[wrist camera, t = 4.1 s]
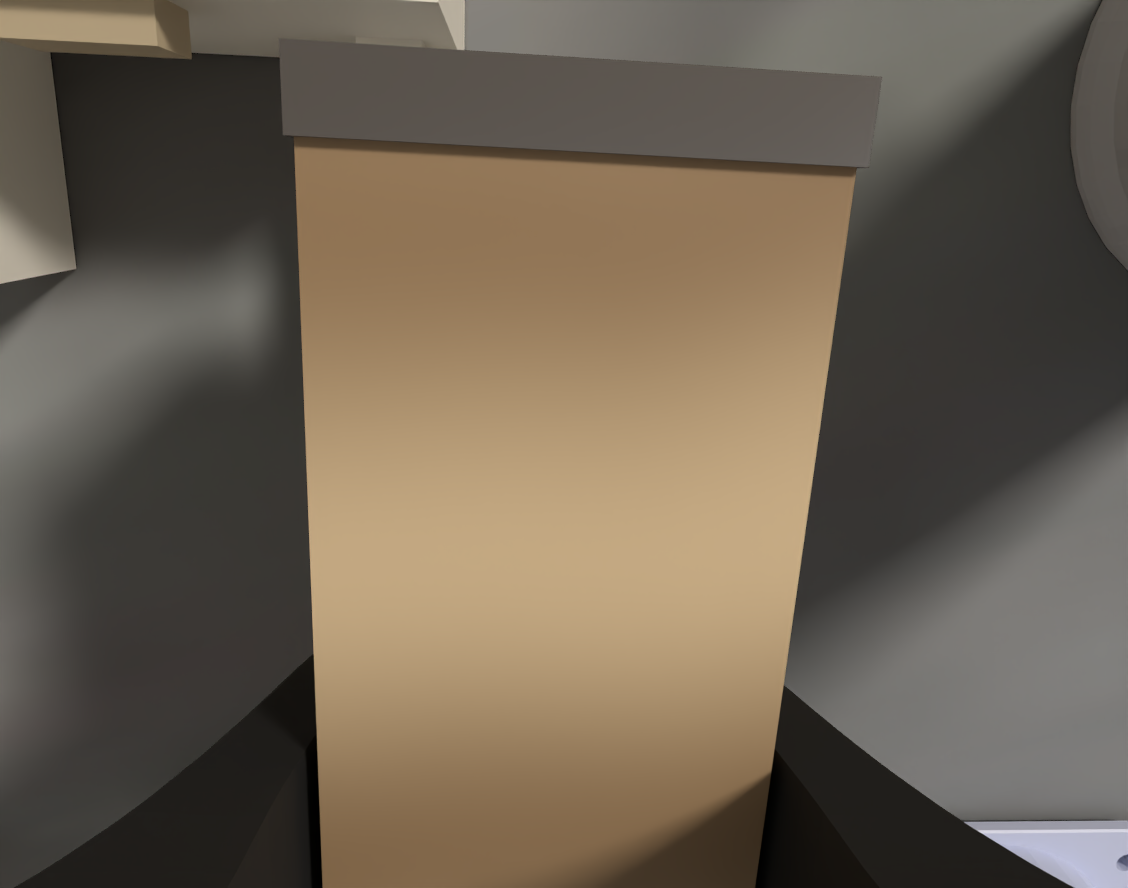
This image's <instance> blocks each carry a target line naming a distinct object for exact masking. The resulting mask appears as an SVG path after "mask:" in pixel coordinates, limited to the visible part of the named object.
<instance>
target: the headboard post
mask: <svg viewBox="0 0 1128 888" xmlns="http://www.w3.org/2000/svg"><path fill="white" fill-rule="evenodd" d="M279 38H281V39H297V40H312V41H328V42H344V43H359V44H375V45H391V46H406V47H422V48H438V49H453V50H464V40H465V0H0V284H2V283H7V282H12V281H17V280H22V279H27V278H32V277H37V276H42V275H48V274H53V273H58V272H63V271H68V270H73V269H76V261H75V253H74V245H73V236H72V228H71V220H70V212H69V203H68V195H67V187H66V179H65V170H64V162H63V154H62V146H61V137H60V129H59V121H58V113H57V104H56V96H55V88H54V80H53V71H52V63H51V55H50V52H61V53H81V54H100V55H119V56H138V57H157V58H177V59H192V53H206V54H225V55H244V56H263V57H280V56H279Z"/></svg>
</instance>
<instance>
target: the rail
mask: <svg viewBox="0 0 1128 888" xmlns="http://www.w3.org/2000/svg"><path fill="white" fill-rule="evenodd" d="M279 56H280V80H281V103H282V127H283V135H285V136H290V137H294V153H295V179H296V205H297V231H298V257H299V283H300V310H301V336H302V362H303V388H304V414H305V440H306V466H307V492H308V518H309V544H310V570H311V596H312V622H313V648H314V674H315V700H316V726H317V752H318V778H319V805H320V831H321V857H322V883H323V888H755V884H756V877H757V870H758V863H759V856H760V849H761V841H762V834H763V827H764V820H765V813H766V806H767V799H768V792H769V785H770V778H771V771H772V764H773V757H774V749H775V742H776V735H777V728H778V721H779V714H780V707H781V700H782V693H783V686H784V679H785V672H786V665H787V657H788V650H789V643H790V636H791V629H792V622H793V615H794V608H795V601H796V594H797V587H798V580H799V573H800V565H801V558H802V551H803V544H804V537H805V530H806V523H807V516H808V509H809V502H810V495H811V488H812V481H813V473H814V466H815V459H816V452H817V445H818V438H819V431H820V424H821V417H822V410H823V403H824V396H825V389H826V382H827V374H828V367H829V360H830V353H831V346H832V339H833V332H834V325H835V318H836V311H837V304H838V297H839V290H840V282H841V275H842V268H843V261H844V254H845V247H846V240H847V233H848V226H849V219H850V212H851V205H852V197H853V190H854V183H855V176H856V169H857V168H869V164H870V157H871V150H872V144H873V137H874V130H875V123H876V116H877V109H878V102H879V95H880V88H881V82H882V77H876V76H861V75H845V74H829V73H814V72H798V71H782V70H767V69H751V68H735V67H720V66H704V65H688V64H673V63H657V62H641V61H626V60H610V59H594V58H579V57H563V56H547V55H532V54H516V53H500V52H485V51H469V50H453V49H438V48H422V47H406V46H391V45H375V44H359V43H344V42H328V41H312V40H297V39H281V38H279Z"/></svg>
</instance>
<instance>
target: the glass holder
mask: <svg viewBox="0 0 1128 888" xmlns="http://www.w3.org/2000/svg"><path fill="white" fill-rule="evenodd" d="M1071 153H1072V159H1073V165H1074V171H1075V177H1076V183H1077V187H1078V190H1079V192H1080V195H1081V198H1082V201H1083V204H1084V206H1085V209H1086V212H1087V215H1088V218H1089V219H1090V221H1091V223H1092V224H1093V226H1094V228H1095V229H1096V231H1097V233H1098V234H1099V236H1100V238H1101V239H1102V241H1103V243H1104V244H1105V246H1106V248H1107V249H1108V250H1109V251H1110V252H1111V253H1112V254H1113V255H1114V256H1115V257H1116V258H1117V259H1118V260H1119V261H1120V263H1121V264H1122V265H1123V266H1124V267H1125V268H1126V269H1127V270H1128V0H1103V1H1102V3H1101V5H1100V7H1099V9H1098V11H1097V13H1096V15H1095V17H1094V19H1093V21H1092V23H1091V26H1090V29H1089V32H1088V35H1087V38H1086V42H1085V45H1084V48H1083V51H1082V54H1081V57H1080V60H1079V63H1078V67H1077V73H1076V79H1075V85H1074V91H1073V97H1072V103H1071Z"/></svg>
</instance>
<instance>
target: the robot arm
mask: <svg viewBox="0 0 1128 888" xmlns="http://www.w3.org/2000/svg"><path fill="white" fill-rule="evenodd" d="M14 888H323V883H322V857H321V831H320V805H319V778H318V752H317V726H316V700H315V674H314V654H313V655H312V656H311V657H309V658H308V659H307V660H306V661H305V662H304V663H303V664H302V665H300V666H299V667H298V668H297V669H296V670H295V671H294V672H293V673H292V674H291V675H290V676H288V677H287V678H286V679H285V680H284V681H283V682H282V683H281V684H280V685H279V686H278V687H277V688H276V689H275V690H274V691H273V692H272V693H271V694H269V695H268V696H267V697H266V698H265V699H264V700H263V701H262V702H261V703H260V704H259V705H258V706H257V707H256V708H255V709H253V710H252V711H251V712H250V713H249V714H248V715H247V716H246V717H245V718H244V719H242V720H241V721H240V722H239V723H238V724H237V725H236V726H235V727H234V728H232V729H231V730H230V731H229V732H228V733H227V734H226V735H225V736H223V737H222V738H221V739H220V740H219V741H218V742H217V743H216V744H214V745H213V746H212V747H211V748H210V749H209V750H208V751H206V752H205V753H204V754H203V755H202V756H200V757H199V758H198V759H197V760H195V761H194V762H193V763H192V764H190V765H189V766H188V767H187V768H186V769H184V770H183V771H182V772H181V773H179V774H178V775H177V776H176V777H174V778H173V779H172V780H171V781H169V782H168V783H167V784H166V785H164V786H163V787H162V788H161V789H159V790H158V791H157V792H156V793H155V794H153V795H152V796H151V797H150V798H148V799H147V800H146V801H144V802H143V803H141V804H140V805H139V806H137V807H136V808H135V809H133V810H132V811H131V812H129V813H128V814H127V815H125V816H124V817H122V818H121V819H120V820H118V821H117V822H115V823H114V824H113V825H111V826H110V827H108V828H107V829H105V830H104V831H102V832H101V833H99V834H98V835H96V836H95V837H93V838H92V839H90V840H89V841H87V842H86V843H84V844H83V845H82V846H80V847H79V848H77V849H76V850H74V851H73V852H71V853H70V854H68V855H67V856H65V857H64V858H62V859H61V860H59V861H57V862H56V863H54V864H53V865H51V866H50V867H48V868H46V869H45V870H43V871H42V872H40V873H38V874H37V875H35V876H33V877H32V878H30V879H28V880H26V881H25V882H23V883H21V884H20V885H18V886H16V887H14ZM755 888H1128V821H1010V822H963V821H961V820H960V819H958V818H957V817H955V816H954V815H952V814H951V813H949V812H948V811H946V810H945V809H943V808H942V807H940V806H939V805H937V804H936V803H935V802H933V801H932V800H930V799H929V798H927V797H926V796H925V795H923V794H922V793H920V792H919V791H918V790H916V789H915V788H913V787H912V786H911V785H909V784H908V783H906V782H905V781H904V780H902V779H901V778H899V777H898V776H897V775H895V774H894V773H892V772H891V771H890V770H889V769H887V768H886V767H885V766H883V765H882V764H881V763H879V762H878V761H877V760H875V759H874V758H873V757H871V756H870V755H869V754H867V753H866V752H865V751H864V750H862V749H861V748H860V747H859V746H857V745H856V744H855V743H853V742H852V741H851V740H850V739H848V738H847V737H846V736H845V735H843V734H842V733H841V732H840V731H838V730H837V729H836V728H835V727H833V726H832V725H831V724H830V723H829V722H827V721H826V720H825V719H824V718H823V717H821V716H820V715H819V714H818V713H816V712H815V711H814V710H813V709H812V708H810V707H809V706H808V705H807V704H806V703H804V702H803V701H802V700H801V699H800V698H798V697H797V696H796V695H795V694H794V693H793V692H791V691H790V690H789V689H788V688H787V687H785V686H783V693H782V700H781V707H780V714H779V721H778V728H777V735H776V742H775V749H774V757H773V764H772V771H771V778H770V785H769V792H768V799H767V806H766V813H765V820H764V827H763V834H762V841H761V849H760V856H759V863H758V870H757V877H756V884H755Z"/></svg>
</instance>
